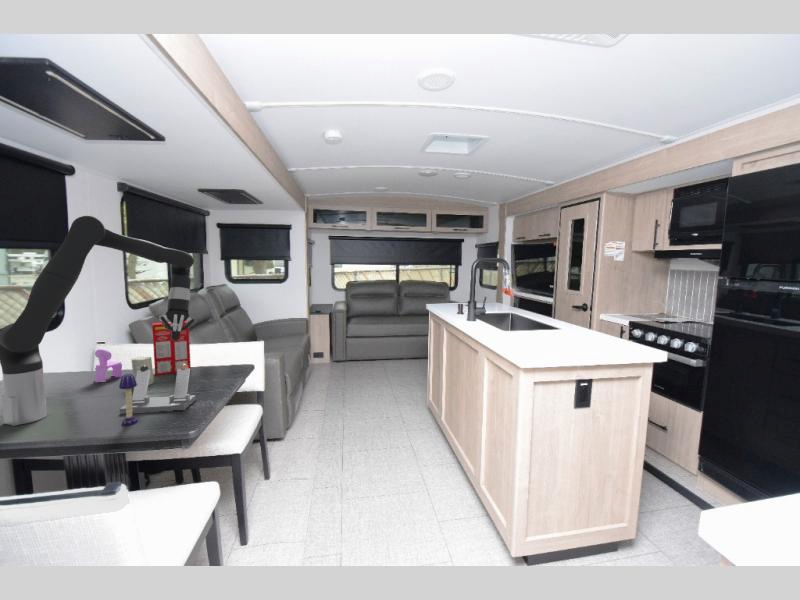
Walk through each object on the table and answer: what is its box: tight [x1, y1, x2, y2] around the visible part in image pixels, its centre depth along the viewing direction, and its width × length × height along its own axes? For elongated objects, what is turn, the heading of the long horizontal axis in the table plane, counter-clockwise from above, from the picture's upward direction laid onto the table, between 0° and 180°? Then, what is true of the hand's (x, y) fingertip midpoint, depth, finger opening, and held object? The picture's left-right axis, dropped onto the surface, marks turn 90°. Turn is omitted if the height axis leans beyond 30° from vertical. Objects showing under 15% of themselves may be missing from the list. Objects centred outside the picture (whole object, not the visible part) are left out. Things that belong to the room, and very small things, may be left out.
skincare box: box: [131, 356, 154, 386], centre depth 152 cm, size 6×4×12 cm
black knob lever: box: [132, 366, 151, 402], centre depth 129 cm, size 3×4×13 cm, turn 100°
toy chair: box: [93, 348, 123, 383], centre depth 158 cm, size 8×9×15 cm
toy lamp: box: [118, 373, 139, 426], centre depth 114 cm, size 5×5×17 cm
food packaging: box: [151, 320, 192, 377], centre depth 170 cm, size 15×5×25 cm, turn 126°
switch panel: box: [119, 393, 197, 415], centre depth 128 cm, size 10×21×4 cm, turn 100°
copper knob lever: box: [173, 364, 191, 400], centre depth 132 cm, size 3×4×13 cm, turn 100°
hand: (175, 340), depth 140 cm, fingers closed
